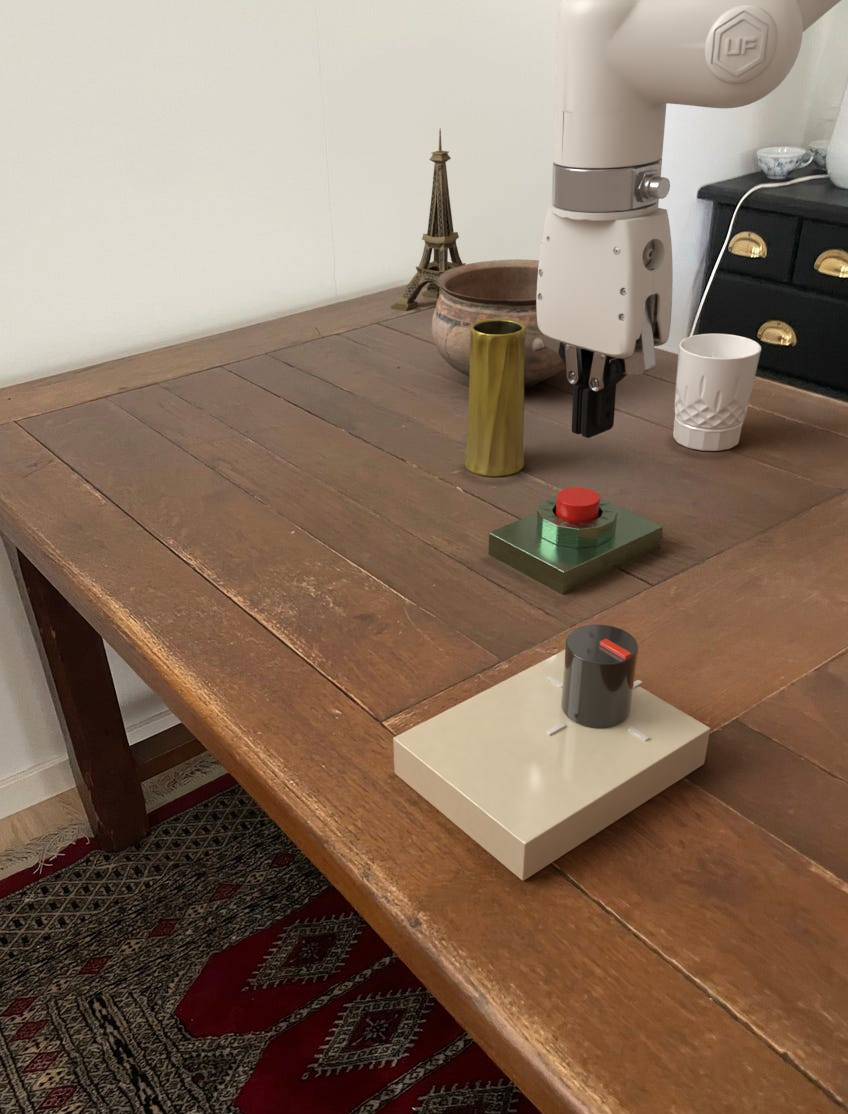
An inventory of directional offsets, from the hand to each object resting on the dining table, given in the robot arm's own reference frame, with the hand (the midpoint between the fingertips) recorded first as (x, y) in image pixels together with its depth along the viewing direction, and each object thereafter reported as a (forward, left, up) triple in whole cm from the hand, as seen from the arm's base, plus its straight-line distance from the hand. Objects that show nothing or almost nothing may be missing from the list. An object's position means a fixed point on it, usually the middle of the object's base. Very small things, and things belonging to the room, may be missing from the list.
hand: (592, 430), depth 83 cm
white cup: (-28, -9, -12) cm, 31 cm away
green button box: (0, -1, -11) cm, 11 cm away
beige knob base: (+22, +18, -11) cm, 31 cm away
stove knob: (+18, +18, -8) cm, 27 cm away
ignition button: (0, -1, -8) cm, 8 cm away
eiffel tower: (-40, -67, -12) cm, 78 cm away
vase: (-7, -19, -12) cm, 23 cm away
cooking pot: (-25, -36, -12) cm, 45 cm away
